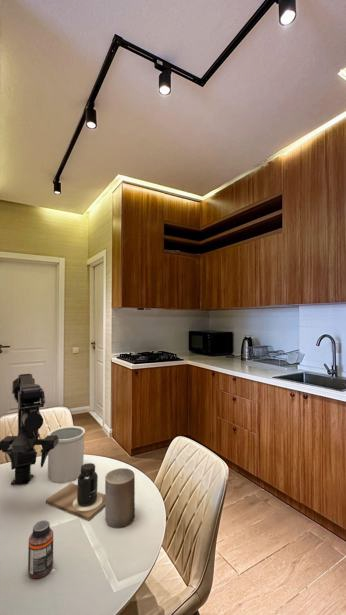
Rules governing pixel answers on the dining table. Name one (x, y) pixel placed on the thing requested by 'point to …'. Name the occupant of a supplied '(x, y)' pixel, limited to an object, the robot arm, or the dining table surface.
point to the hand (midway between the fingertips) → (28, 467)
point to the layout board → (75, 503)
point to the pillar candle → (119, 497)
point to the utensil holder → (66, 454)
